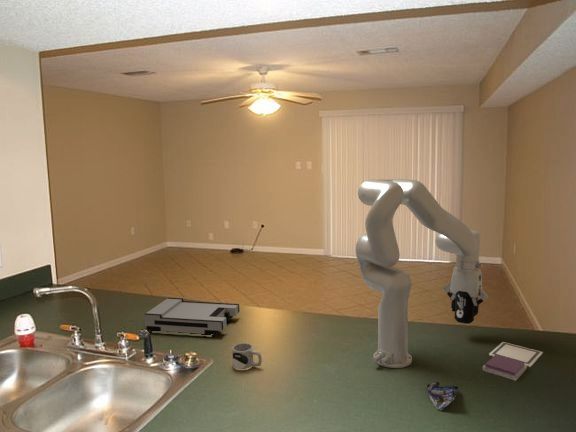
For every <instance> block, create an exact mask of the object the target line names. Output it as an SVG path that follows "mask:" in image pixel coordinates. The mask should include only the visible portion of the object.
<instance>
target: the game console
mask: <svg viewBox="0 0 576 432" xmlns="http://www.w3.org/2000/svg"><path fill="white" fill-rule="evenodd" d="M239 313H240V304H239V303H228V302H227V303H224V302H209V301H208V302H207V301H206V302H205V301H190V300H188V301H187V300H184V298H183V297H180V298H179V297H178V298H177V297H168V298H166V299H164V300H163V301H162V302H160V303H158V304H157V305H156V306H154V307H152V308H151V309H150V310H149V311H147V312H145V313H144V314H143V321H144V326H145V327H146V330H147V331H166V332H178V333H190V334H201V335H211V334H214V335H218V334H219V332H220V331H221V332H223V330H224V329H225V328H226V327H228V326H227V322H229V321H231V319H232V318H234V317H236V316H237V315H238V314H239Z"/></svg>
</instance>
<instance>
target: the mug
mask: <svg viewBox="0 0 576 432" xmlns="http://www.w3.org/2000/svg"><path fill="white" fill-rule="evenodd" d="M231 349H232V367H233V366H234V367H235V368H238V369H246V368H249V367H251V366H252V367H253V368H254V367H261V366H262V362H263V360H262V353H261V352H259V351H257V350H255V349H254V347H253V345H252V344H251V343H248V342H240V343H236V344H234V345H233V346H232V348H231ZM254 355H255V356H257V357H258V361H257V362H256V361H254Z"/></svg>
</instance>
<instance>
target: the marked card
mask: <svg viewBox="0 0 576 432" xmlns="http://www.w3.org/2000/svg"><path fill="white" fill-rule="evenodd" d="M543 353H544V351H540V350H536V349H532V348H528V347H525V346H521V345H516V344H512V343H509V342H505V341H502V342H501V343H499V345H497V346H496V347H495V348H494V349H493V350H492V351H491V352H489V353H488V356H491V357H494V356H495V355H499V356H503V357H506V358H510V359H513V360H517V361H521V362H524V363H525V364H524V365H527V367H529V368H531V367H532V366H533V365H534V364H535V363H536V362H537V361H538V359H540V357H541V356H542V355H543Z"/></svg>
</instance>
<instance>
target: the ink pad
mask: <svg viewBox="0 0 576 432" xmlns="http://www.w3.org/2000/svg"><path fill="white" fill-rule="evenodd" d="M524 364H525V363H524V362H521V361H517V360H513V359H510V358H506V357H503V356H499V355H495V356H491V358H490V359H488V361H487V362H486V363H485V364H484V365H483V366H482V371H484V372H486V373H490V374H493V375H496V376H500V377H503V378H506V379H509V380H513V381H515V382H516V381H518V380H519V378H520V377H521V376H522V375H523V374H524V373H525V372H526V370H527V369H528V366H527V365H524Z"/></svg>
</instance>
